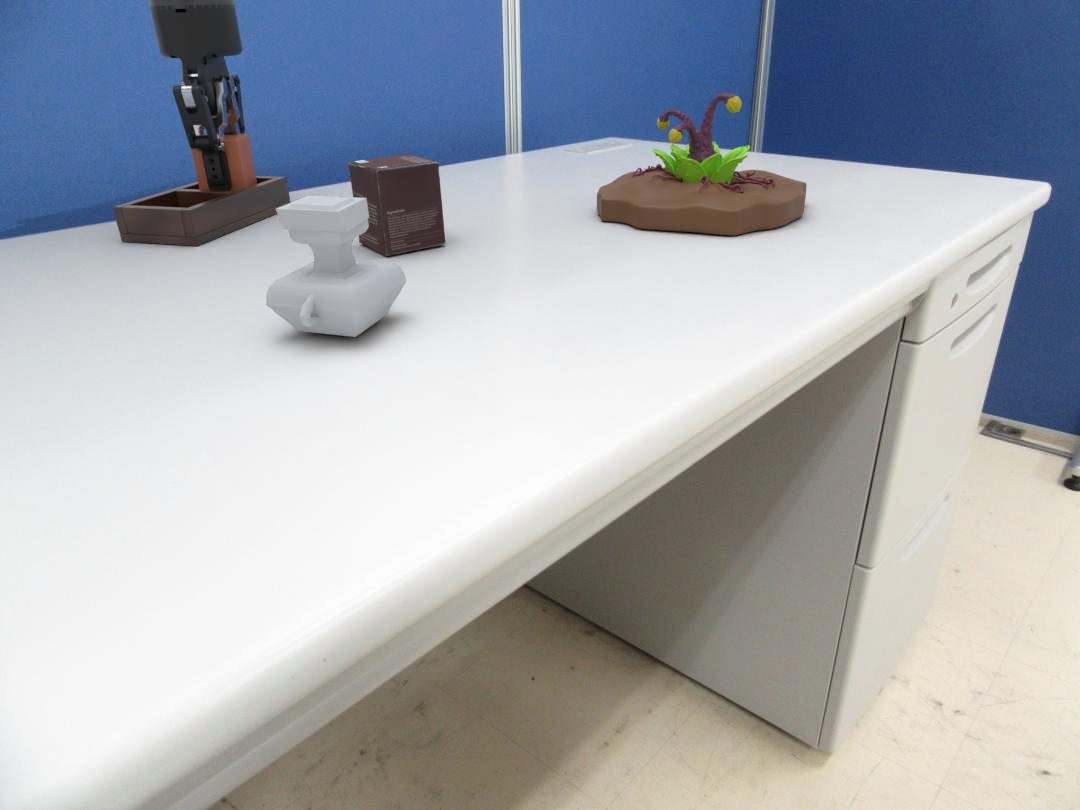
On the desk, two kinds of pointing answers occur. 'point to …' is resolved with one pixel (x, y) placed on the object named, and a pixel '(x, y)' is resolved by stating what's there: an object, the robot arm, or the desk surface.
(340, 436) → the desk surface
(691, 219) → the plant
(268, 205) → the tray
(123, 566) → the desk surface
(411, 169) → the box
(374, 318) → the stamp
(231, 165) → the block
